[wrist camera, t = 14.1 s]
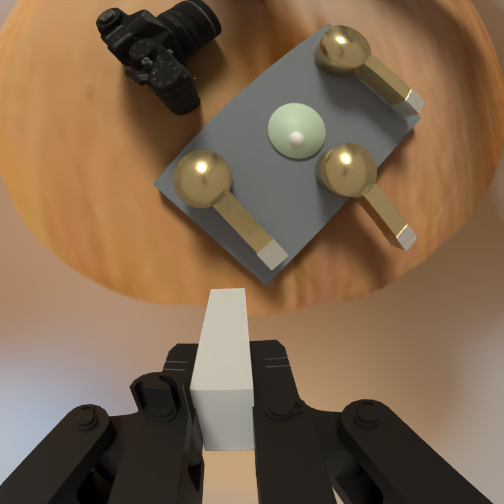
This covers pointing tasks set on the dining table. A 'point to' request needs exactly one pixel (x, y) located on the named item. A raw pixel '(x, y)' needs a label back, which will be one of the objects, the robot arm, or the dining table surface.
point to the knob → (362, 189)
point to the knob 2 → (364, 68)
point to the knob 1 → (223, 201)
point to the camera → (161, 47)
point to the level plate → (288, 150)
